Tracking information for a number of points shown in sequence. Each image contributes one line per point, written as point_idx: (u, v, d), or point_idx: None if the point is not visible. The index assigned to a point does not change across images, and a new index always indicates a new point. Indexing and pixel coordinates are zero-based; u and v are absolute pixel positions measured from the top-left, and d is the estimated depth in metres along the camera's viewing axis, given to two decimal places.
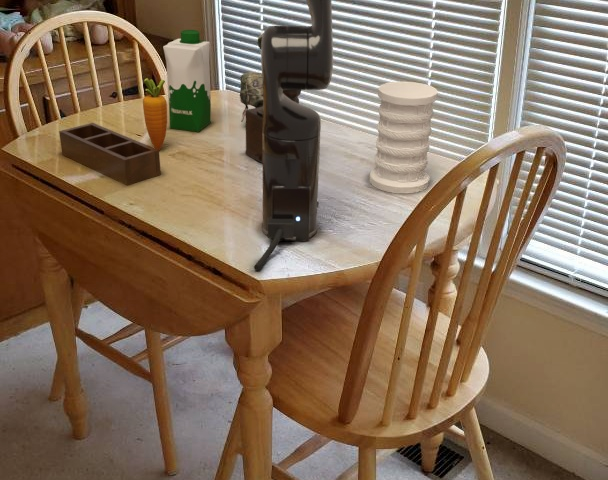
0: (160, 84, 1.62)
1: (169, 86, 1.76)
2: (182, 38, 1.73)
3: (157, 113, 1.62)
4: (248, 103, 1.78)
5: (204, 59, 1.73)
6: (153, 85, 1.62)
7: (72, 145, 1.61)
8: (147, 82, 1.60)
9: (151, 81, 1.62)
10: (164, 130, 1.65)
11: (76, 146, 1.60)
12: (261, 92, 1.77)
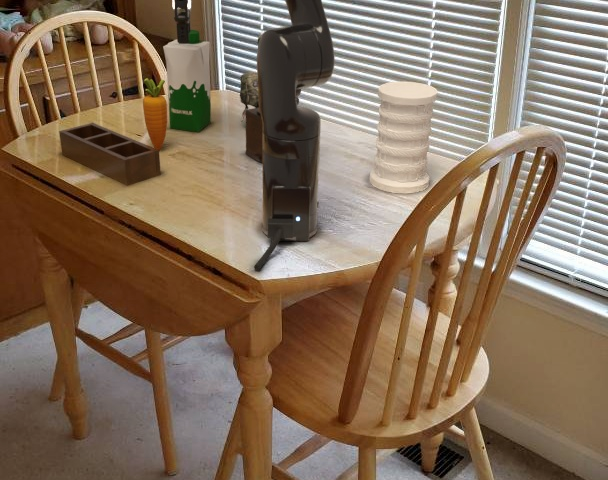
0: (160, 84, 1.62)
1: (169, 86, 1.76)
2: None
3: (157, 113, 1.62)
4: (248, 103, 1.78)
5: (204, 59, 1.73)
6: (153, 85, 1.62)
7: (72, 145, 1.61)
8: (147, 82, 1.60)
9: (151, 81, 1.62)
10: (164, 130, 1.65)
11: (76, 146, 1.60)
12: None
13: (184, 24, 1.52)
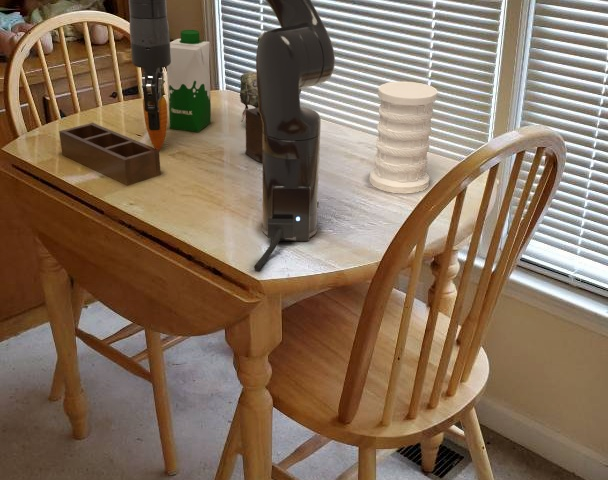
0: None
1: (169, 86, 1.76)
2: (182, 38, 1.73)
3: None
4: (248, 103, 1.78)
5: (204, 59, 1.73)
6: None
7: (72, 145, 1.61)
8: None
9: None
10: (164, 130, 1.65)
11: (76, 146, 1.60)
12: None
13: (154, 113, 1.61)
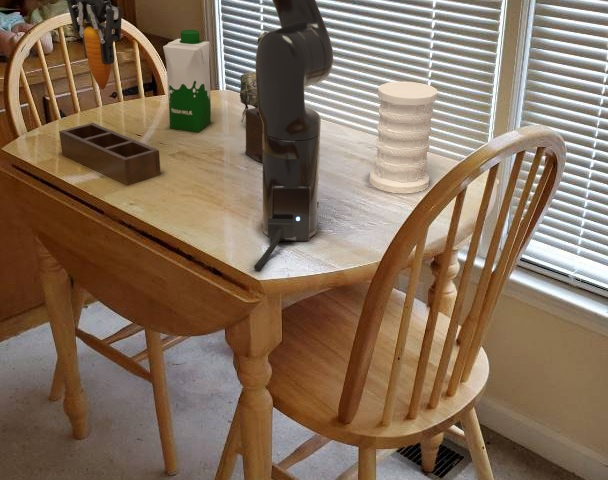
0: None
1: (169, 86, 1.76)
2: (182, 38, 1.73)
3: None
4: (248, 103, 1.78)
5: (204, 59, 1.73)
6: None
7: (72, 145, 1.61)
8: None
9: None
10: (110, 64, 1.51)
11: (76, 146, 1.60)
12: None
13: (111, 43, 1.46)
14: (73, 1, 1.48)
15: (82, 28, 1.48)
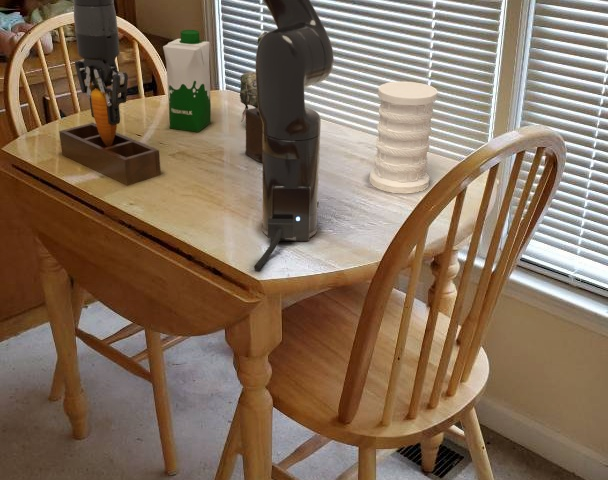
0: None
1: (169, 86, 1.76)
2: (182, 38, 1.73)
3: None
4: (248, 103, 1.78)
5: (204, 59, 1.73)
6: None
7: (72, 145, 1.61)
8: None
9: None
10: None
11: (76, 146, 1.60)
12: None
13: (117, 105, 1.52)
14: (81, 64, 1.54)
15: (89, 90, 1.54)
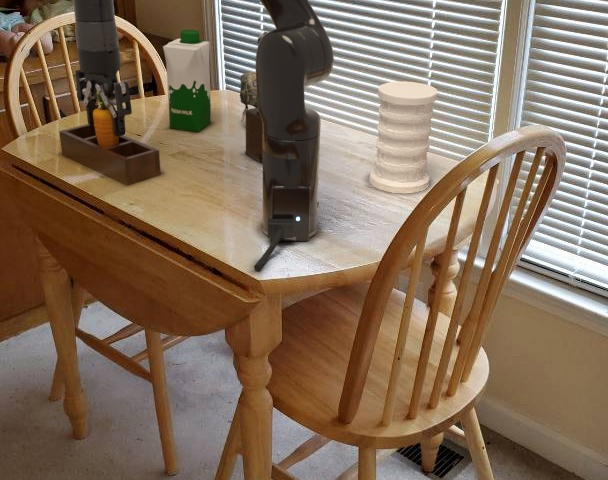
0: None
1: (169, 86, 1.76)
2: (182, 38, 1.73)
3: None
4: (248, 103, 1.78)
5: (204, 59, 1.73)
6: None
7: (72, 145, 1.61)
8: (100, 95, 1.52)
9: None
10: None
11: (76, 146, 1.60)
12: None
13: (123, 117, 1.52)
14: (81, 74, 1.55)
15: (86, 98, 1.56)
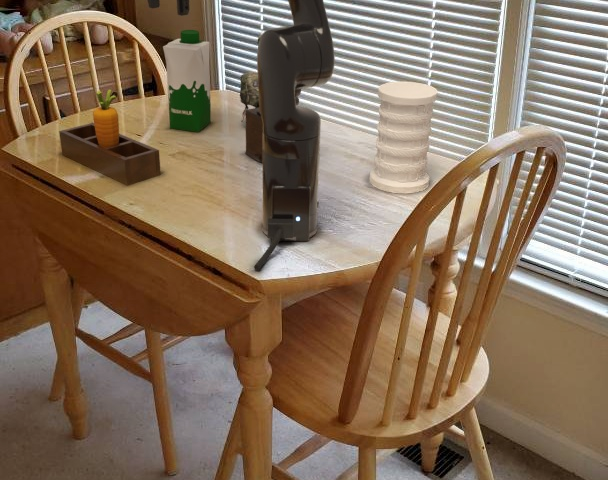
0: (109, 94, 1.55)
1: (169, 86, 1.76)
2: (182, 38, 1.73)
3: (115, 124, 1.56)
4: (248, 103, 1.78)
5: (204, 59, 1.73)
6: (101, 97, 1.54)
7: (72, 145, 1.61)
8: (101, 95, 1.52)
9: None
10: None
11: (76, 146, 1.60)
12: None
13: None
14: None
15: None
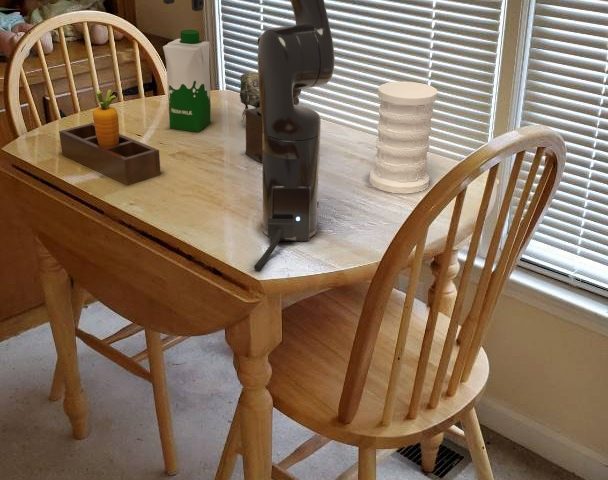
0: (109, 94, 1.55)
1: (169, 86, 1.76)
2: (182, 38, 1.73)
3: (115, 124, 1.56)
4: (248, 103, 1.78)
5: (204, 59, 1.73)
6: (101, 97, 1.54)
7: (72, 145, 1.61)
8: (101, 95, 1.52)
9: None
10: None
11: (76, 146, 1.60)
12: None
13: None
14: None
15: None
